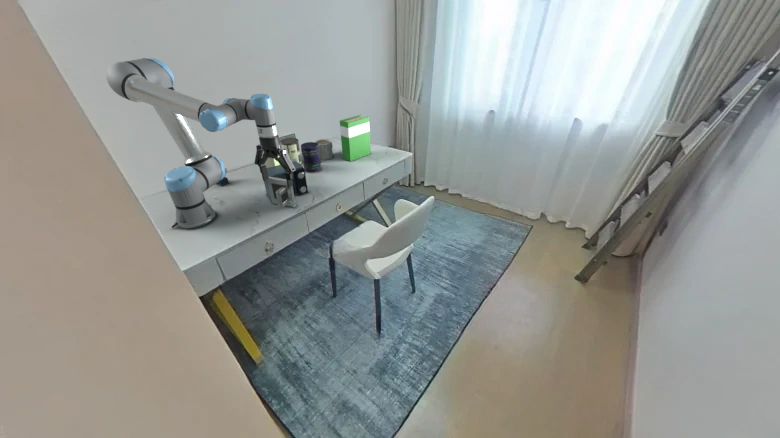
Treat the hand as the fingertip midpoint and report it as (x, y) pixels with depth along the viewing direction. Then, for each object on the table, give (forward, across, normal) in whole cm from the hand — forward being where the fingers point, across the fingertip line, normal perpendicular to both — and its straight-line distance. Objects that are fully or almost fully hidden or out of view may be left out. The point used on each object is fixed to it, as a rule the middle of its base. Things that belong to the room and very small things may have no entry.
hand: (278, 183), depth 138 cm
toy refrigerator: (+16, -27, +26) cm, 41 cm away
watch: (+16, -51, +10) cm, 55 cm away
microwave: (+16, -11, +15) cm, 25 cm away
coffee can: (+16, -34, +49) cm, 62 cm away
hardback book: (+16, -4, +75) cm, 77 cm away
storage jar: (+16, -18, +46) cm, 52 cm away
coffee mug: (+16, -22, +67) cm, 72 cm away
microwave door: (+16, -5, +3) cm, 17 cm away
